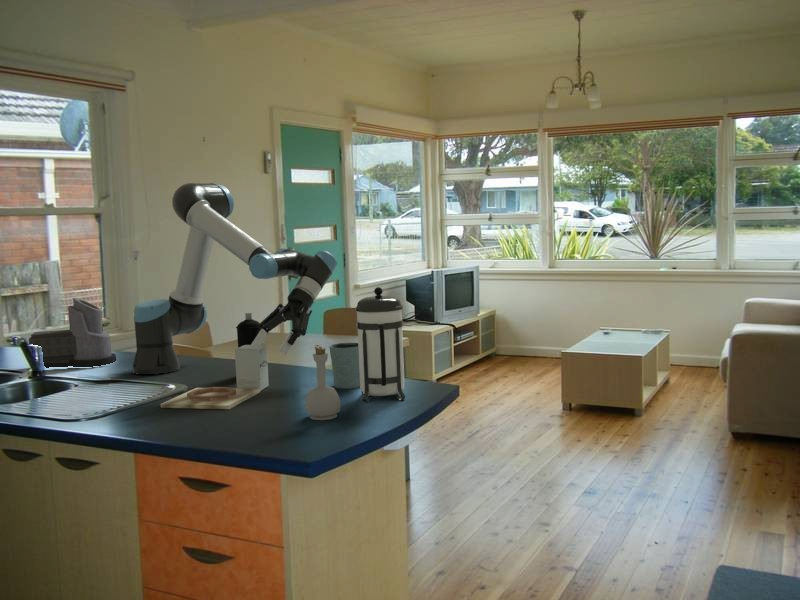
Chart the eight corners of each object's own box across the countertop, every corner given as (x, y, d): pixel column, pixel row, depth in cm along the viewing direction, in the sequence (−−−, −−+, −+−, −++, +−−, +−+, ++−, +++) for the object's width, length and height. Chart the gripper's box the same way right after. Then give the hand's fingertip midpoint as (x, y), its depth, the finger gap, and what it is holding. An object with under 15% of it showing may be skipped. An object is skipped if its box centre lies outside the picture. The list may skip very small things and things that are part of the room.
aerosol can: (262, 377, 251) (258, 314, 249) (236, 378, 251) (232, 315, 249) (267, 372, 259) (263, 311, 257) (242, 373, 259) (238, 311, 257)
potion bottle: (323, 410, 205) (319, 341, 203) (348, 415, 199) (345, 343, 197) (298, 418, 198) (294, 346, 196) (323, 423, 193) (320, 349, 191)
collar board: (160, 407, 215) (160, 399, 215) (196, 391, 235) (196, 383, 234) (228, 409, 210) (228, 401, 210) (260, 392, 230) (259, 384, 229)
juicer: (121, 358, 296) (116, 293, 294) (118, 366, 281) (112, 297, 278) (34, 365, 289) (28, 298, 286) (25, 373, 274) (19, 302, 271)
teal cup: (344, 390, 228) (342, 349, 226) (324, 385, 235) (322, 345, 234) (372, 384, 234) (370, 344, 233) (352, 380, 242) (350, 340, 240)
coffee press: (341, 399, 217) (335, 289, 214) (383, 388, 228) (379, 283, 225) (385, 408, 205) (380, 291, 202) (428, 396, 216) (424, 286, 213)
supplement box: (260, 391, 230) (257, 348, 229) (236, 391, 232) (233, 348, 230) (269, 386, 237) (267, 344, 236) (246, 386, 239) (243, 344, 237)
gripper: (338, 304, 239) (302, 362, 230) (285, 300, 256) (250, 354, 247) (323, 288, 235) (286, 346, 225) (271, 285, 252) (234, 339, 243)
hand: (267, 350), depth 236 cm, fingers open, 13 cm apart
